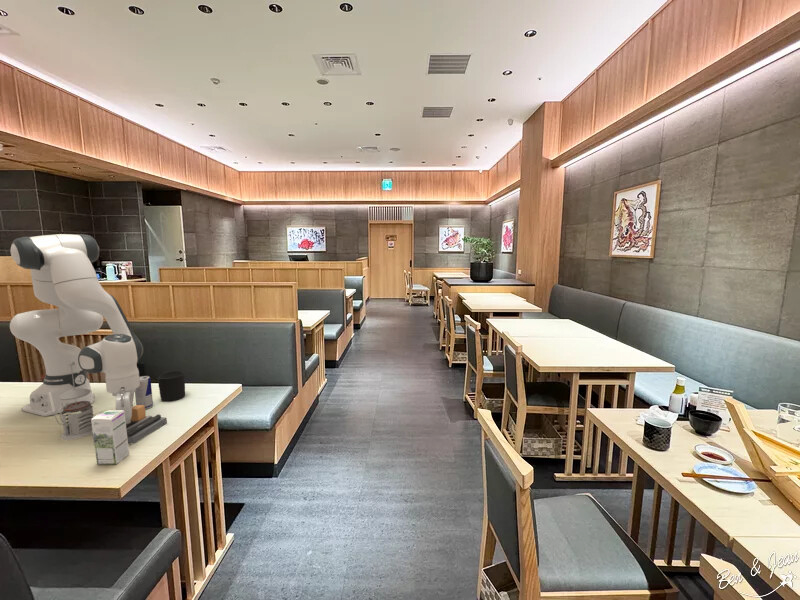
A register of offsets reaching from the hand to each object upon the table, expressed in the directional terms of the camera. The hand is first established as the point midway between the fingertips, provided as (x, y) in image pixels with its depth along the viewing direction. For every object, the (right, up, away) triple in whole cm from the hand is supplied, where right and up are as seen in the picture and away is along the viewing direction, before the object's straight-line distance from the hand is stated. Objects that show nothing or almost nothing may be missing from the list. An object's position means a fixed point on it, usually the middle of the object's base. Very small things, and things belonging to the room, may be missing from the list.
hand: (127, 422), depth 121 cm
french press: (-17, -4, 0) cm, 18 cm away
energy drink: (-8, -1, +20) cm, 22 cm away
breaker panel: (0, -4, +2) cm, 4 cm away
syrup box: (+7, -7, -14) cm, 17 cm away
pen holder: (-3, 0, +29) cm, 30 cm away
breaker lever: (+1, -1, +4) cm, 4 cm away
